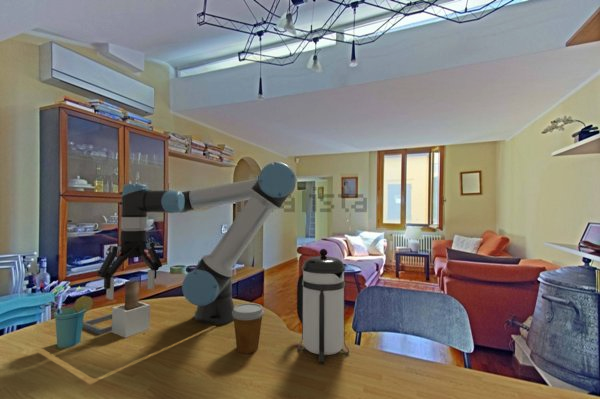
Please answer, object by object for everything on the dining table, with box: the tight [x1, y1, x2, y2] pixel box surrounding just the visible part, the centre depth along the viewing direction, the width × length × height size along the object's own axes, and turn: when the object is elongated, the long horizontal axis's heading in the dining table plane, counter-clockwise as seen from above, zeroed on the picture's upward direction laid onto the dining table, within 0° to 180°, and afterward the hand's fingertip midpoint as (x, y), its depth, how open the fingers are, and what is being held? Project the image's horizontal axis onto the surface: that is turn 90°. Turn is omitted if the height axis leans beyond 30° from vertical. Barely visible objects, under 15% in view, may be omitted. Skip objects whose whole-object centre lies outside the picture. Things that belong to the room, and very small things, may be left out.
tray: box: [82, 313, 112, 336], centre depth 101 cm, size 12×12×2 cm
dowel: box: [124, 279, 140, 311], centre depth 97 cm, size 4×4×16 cm
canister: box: [111, 301, 151, 338], centre depth 96 cm, size 8×8×9 cm
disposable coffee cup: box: [232, 302, 265, 354], centre depth 87 cm, size 10×10×12 cm
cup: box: [38, 295, 95, 349], centre depth 86 cm, size 14×8×15 cm, turn 161°
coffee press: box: [296, 248, 350, 365], centre depth 86 cm, size 17×16×30 cm
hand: (131, 293), depth 97 cm, fingers open, 13 cm apart
